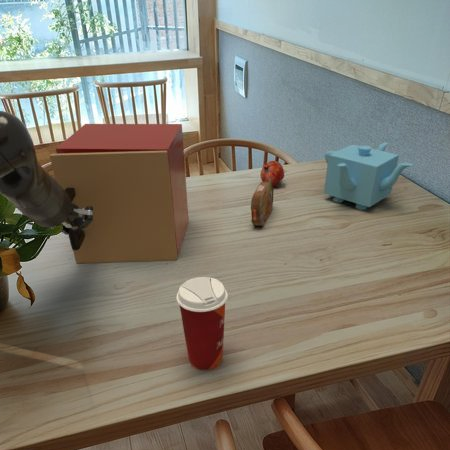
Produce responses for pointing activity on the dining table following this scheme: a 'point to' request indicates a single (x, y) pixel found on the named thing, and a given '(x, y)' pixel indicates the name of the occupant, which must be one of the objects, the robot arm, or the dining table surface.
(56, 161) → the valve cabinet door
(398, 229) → the dining table surface
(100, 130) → the cabinet
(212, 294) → the paper cup
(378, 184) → the teakettle
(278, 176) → the pomegranate
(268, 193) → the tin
